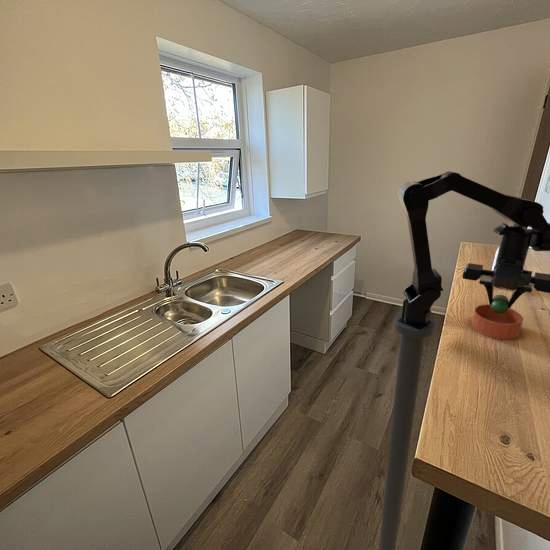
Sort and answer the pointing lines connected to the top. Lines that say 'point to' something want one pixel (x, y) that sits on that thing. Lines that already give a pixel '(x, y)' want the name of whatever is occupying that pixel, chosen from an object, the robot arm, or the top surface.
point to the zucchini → (500, 304)
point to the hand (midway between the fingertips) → (499, 306)
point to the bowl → (497, 322)
